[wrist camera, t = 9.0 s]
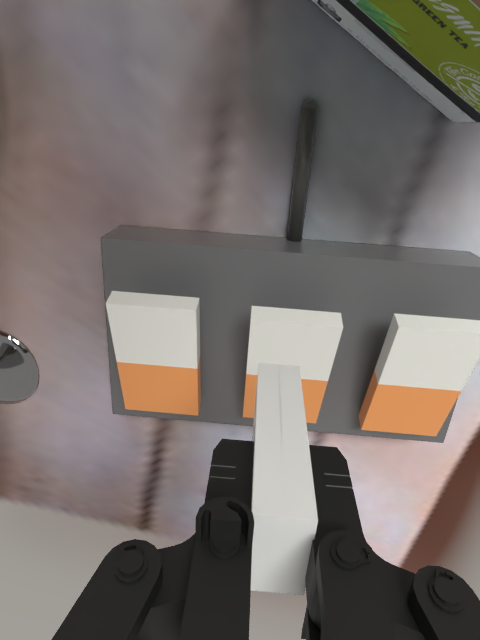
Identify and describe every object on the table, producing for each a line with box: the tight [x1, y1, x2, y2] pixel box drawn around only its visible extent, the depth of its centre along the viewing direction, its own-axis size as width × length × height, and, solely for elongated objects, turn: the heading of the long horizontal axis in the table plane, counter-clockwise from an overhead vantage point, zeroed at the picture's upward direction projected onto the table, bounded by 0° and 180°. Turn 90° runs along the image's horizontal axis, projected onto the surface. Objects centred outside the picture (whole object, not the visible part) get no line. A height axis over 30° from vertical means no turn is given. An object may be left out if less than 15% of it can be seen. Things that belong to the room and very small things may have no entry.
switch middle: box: [243, 306, 343, 423], centre depth 27 cm, size 9×5×2 cm, turn 176°
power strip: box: [101, 99, 480, 443], centre depth 28 cm, size 22×24×4 cm
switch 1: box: [106, 291, 201, 416], centre depth 27 cm, size 9×5×2 cm, turn 176°
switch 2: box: [359, 313, 480, 436], centre depth 26 cm, size 9×5×2 cm, turn 176°
